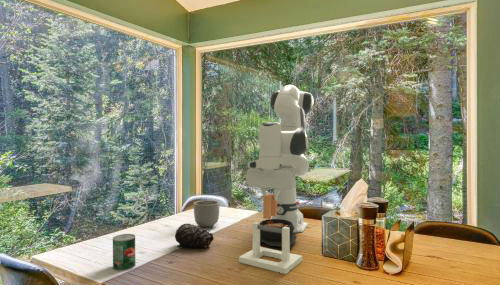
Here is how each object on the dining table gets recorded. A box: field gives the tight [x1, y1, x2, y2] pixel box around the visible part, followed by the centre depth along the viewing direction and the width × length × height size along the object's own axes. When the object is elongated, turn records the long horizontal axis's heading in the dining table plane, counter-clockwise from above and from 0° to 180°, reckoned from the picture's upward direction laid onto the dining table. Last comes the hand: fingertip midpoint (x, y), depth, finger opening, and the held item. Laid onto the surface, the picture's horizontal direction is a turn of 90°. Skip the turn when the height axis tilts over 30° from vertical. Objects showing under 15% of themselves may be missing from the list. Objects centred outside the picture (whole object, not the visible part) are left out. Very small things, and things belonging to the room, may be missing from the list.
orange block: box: [262, 193, 277, 220], centre depth 120 cm, size 6×2×8 cm, turn 147°
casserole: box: [260, 218, 297, 247], centre depth 145 cm, size 25×19×8 cm
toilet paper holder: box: [238, 221, 303, 275], centre depth 120 cm, size 20×14×14 cm
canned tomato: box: [112, 233, 136, 272], centre depth 117 cm, size 8×8×11 cm
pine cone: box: [174, 223, 215, 251], centre depth 138 cm, size 10×18×10 cm, turn 81°
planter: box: [192, 199, 221, 230], centre depth 168 cm, size 14×14×13 cm
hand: (270, 199), depth 120 cm, fingers closed on orange block, 2 cm apart
